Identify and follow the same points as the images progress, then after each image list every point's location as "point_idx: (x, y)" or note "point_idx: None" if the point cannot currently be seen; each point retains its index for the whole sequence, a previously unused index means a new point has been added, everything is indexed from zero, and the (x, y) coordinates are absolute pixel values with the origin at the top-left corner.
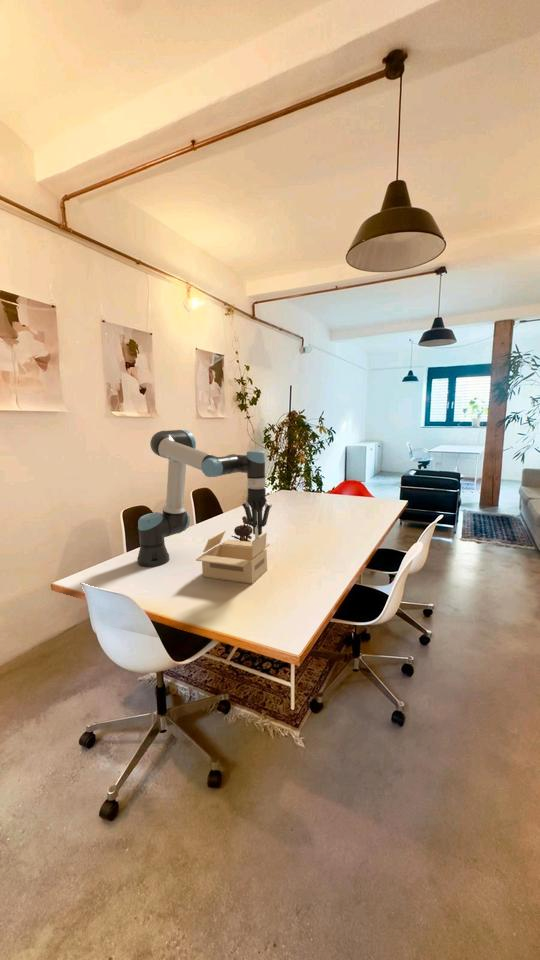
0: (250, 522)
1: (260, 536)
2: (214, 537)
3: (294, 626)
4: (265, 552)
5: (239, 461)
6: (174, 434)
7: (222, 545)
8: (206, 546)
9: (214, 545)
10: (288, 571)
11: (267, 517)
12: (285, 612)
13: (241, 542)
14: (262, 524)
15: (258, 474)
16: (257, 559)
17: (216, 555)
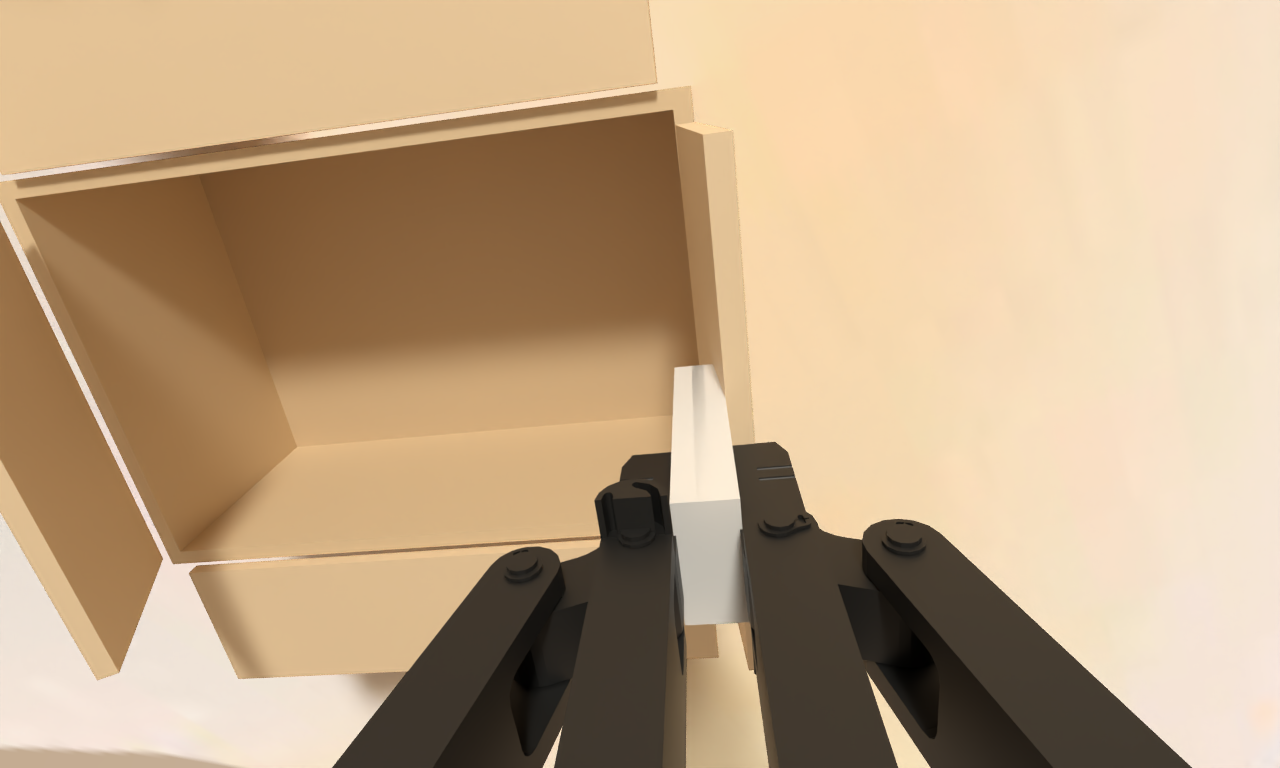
0: (558, 717)
1: (743, 418)
2: (65, 563)
3: (1184, 741)
4: None
5: None
6: None
7: (52, 193)
8: (140, 604)
9: (66, 375)
10: (919, 7)
11: (1113, 717)
12: (1099, 651)
13: (190, 6)
14: (902, 680)
15: None
16: None
17: (147, 283)
